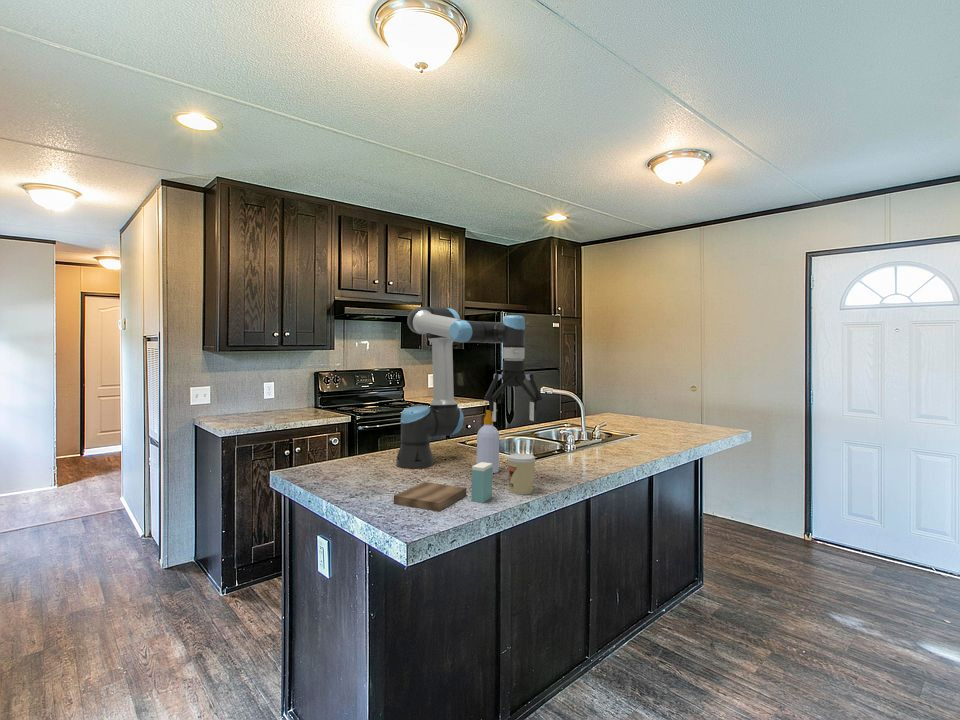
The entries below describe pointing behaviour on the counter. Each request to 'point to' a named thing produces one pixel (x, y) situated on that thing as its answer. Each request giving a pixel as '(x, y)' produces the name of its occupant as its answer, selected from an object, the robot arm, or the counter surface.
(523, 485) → the white-capped cylinder
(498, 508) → the counter surface
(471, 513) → the counter surface
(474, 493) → the block
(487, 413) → the soap bottle
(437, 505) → the board
